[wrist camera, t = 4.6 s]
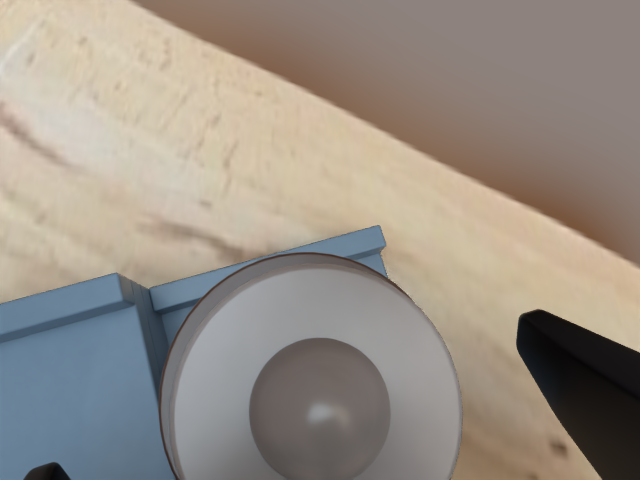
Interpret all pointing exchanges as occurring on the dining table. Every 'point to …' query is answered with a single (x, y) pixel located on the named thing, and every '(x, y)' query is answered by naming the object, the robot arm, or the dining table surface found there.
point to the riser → (106, 368)
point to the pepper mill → (309, 379)
